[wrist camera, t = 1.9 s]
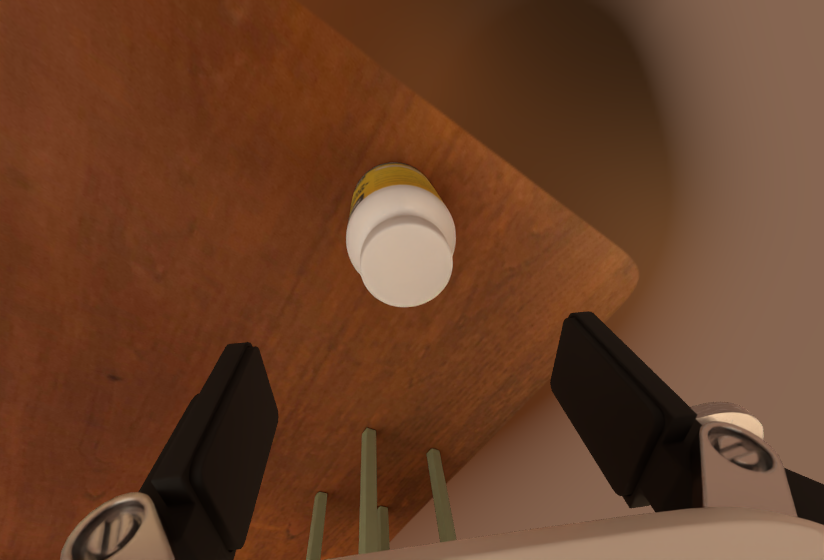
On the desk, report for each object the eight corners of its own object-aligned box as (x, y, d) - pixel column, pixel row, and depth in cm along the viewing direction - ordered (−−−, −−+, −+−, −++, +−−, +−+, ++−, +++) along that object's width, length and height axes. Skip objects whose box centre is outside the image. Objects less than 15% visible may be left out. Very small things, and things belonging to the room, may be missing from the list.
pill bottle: (369, 146, 25) (368, 180, 15) (447, 180, 27) (494, 232, 17) (341, 225, 28) (323, 301, 17) (414, 252, 29) (437, 335, 19)
